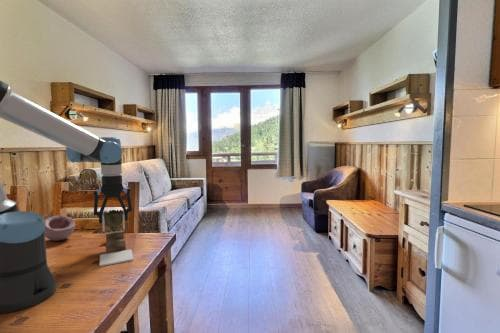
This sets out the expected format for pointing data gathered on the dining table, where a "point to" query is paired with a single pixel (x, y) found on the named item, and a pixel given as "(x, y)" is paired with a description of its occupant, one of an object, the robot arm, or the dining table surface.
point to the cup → (113, 219)
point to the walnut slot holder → (115, 241)
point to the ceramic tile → (116, 257)
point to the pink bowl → (58, 227)
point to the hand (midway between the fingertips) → (114, 229)
